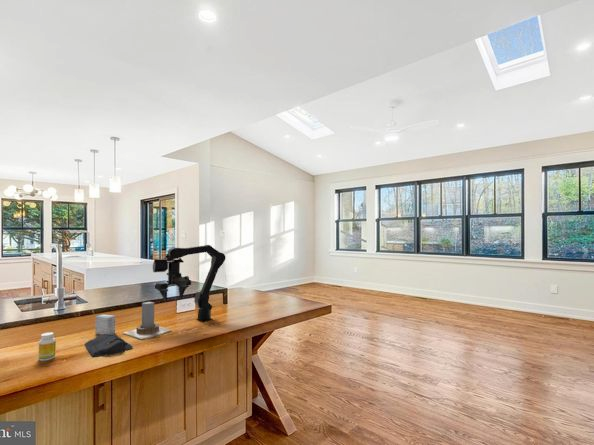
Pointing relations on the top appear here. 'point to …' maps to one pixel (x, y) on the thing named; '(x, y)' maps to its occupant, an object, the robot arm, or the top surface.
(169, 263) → the robot arm
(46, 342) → the supplement bottle
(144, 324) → the tall square grey column
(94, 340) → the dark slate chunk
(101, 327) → the medicine box
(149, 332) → the ring holder
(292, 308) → the top surface
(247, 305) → the top surface
